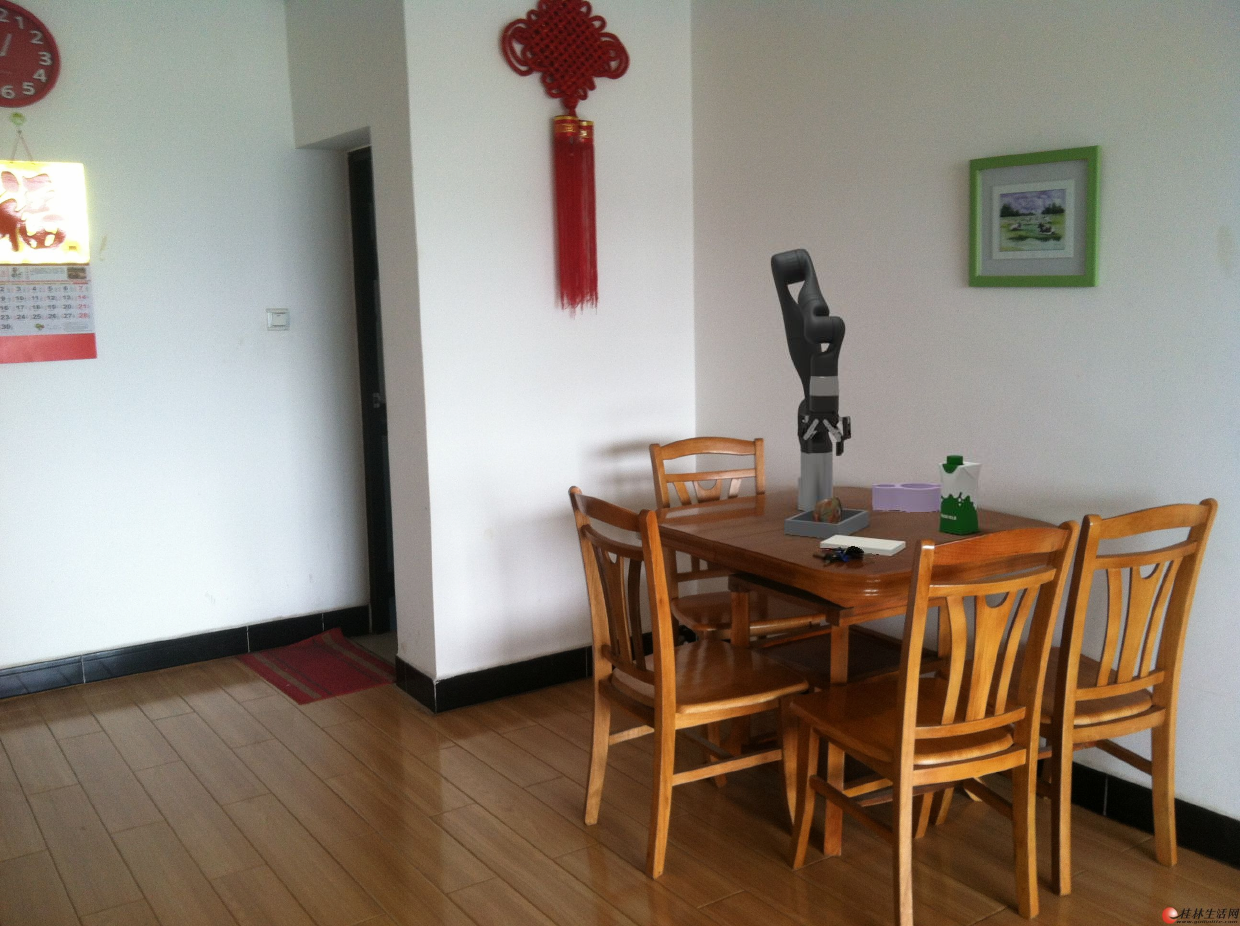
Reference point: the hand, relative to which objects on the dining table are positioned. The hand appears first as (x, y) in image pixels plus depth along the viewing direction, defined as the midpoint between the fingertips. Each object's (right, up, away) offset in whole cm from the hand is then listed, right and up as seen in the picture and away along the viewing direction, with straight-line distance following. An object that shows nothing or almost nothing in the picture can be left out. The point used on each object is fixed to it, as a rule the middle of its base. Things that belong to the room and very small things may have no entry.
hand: (823, 454), depth 282 cm
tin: (+2, -20, +3) cm, 21 cm away
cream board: (+6, -23, -19) cm, 31 cm away
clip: (+30, -16, +29) cm, 44 cm away
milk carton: (+34, -20, -4) cm, 40 cm away
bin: (+1, -20, +3) cm, 20 cm away
